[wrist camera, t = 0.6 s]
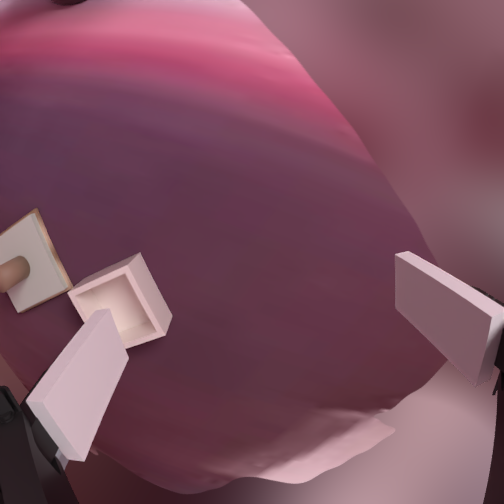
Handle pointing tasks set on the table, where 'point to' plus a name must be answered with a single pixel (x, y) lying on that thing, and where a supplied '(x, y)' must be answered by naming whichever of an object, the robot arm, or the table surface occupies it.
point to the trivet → (51, 252)
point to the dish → (125, 300)
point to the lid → (28, 265)
